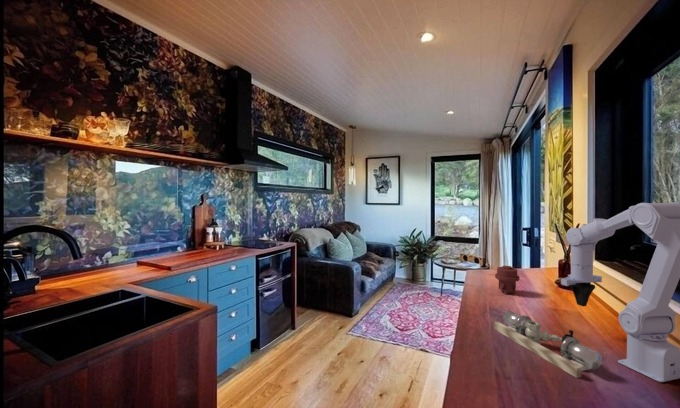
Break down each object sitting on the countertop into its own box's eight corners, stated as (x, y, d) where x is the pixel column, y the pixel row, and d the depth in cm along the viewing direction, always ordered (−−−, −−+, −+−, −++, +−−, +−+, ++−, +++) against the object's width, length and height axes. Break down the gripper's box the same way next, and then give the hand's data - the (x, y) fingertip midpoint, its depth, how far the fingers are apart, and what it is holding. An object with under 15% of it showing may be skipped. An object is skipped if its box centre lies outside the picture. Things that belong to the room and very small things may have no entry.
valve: (524, 346, 93) (573, 358, 86) (524, 325, 93) (573, 335, 86) (526, 337, 99) (572, 348, 91) (526, 317, 98) (572, 326, 91)
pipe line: (604, 372, 79) (604, 347, 79) (586, 376, 78) (586, 351, 77) (515, 325, 107) (515, 307, 107) (501, 328, 106) (501, 309, 106)
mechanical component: (507, 297, 136) (490, 290, 146) (524, 294, 139) (506, 288, 149) (507, 270, 136) (490, 265, 145) (524, 267, 139) (506, 263, 148)
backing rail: (581, 376, 77) (581, 367, 77) (576, 377, 77) (576, 368, 77) (497, 328, 105) (497, 321, 105) (493, 329, 105) (493, 321, 105)
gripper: (586, 260, 105) (586, 298, 106) (552, 263, 102) (552, 303, 103) (608, 264, 99) (608, 306, 99) (573, 268, 95) (573, 310, 96)
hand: (581, 305), depth 100 cm, fingers closed
